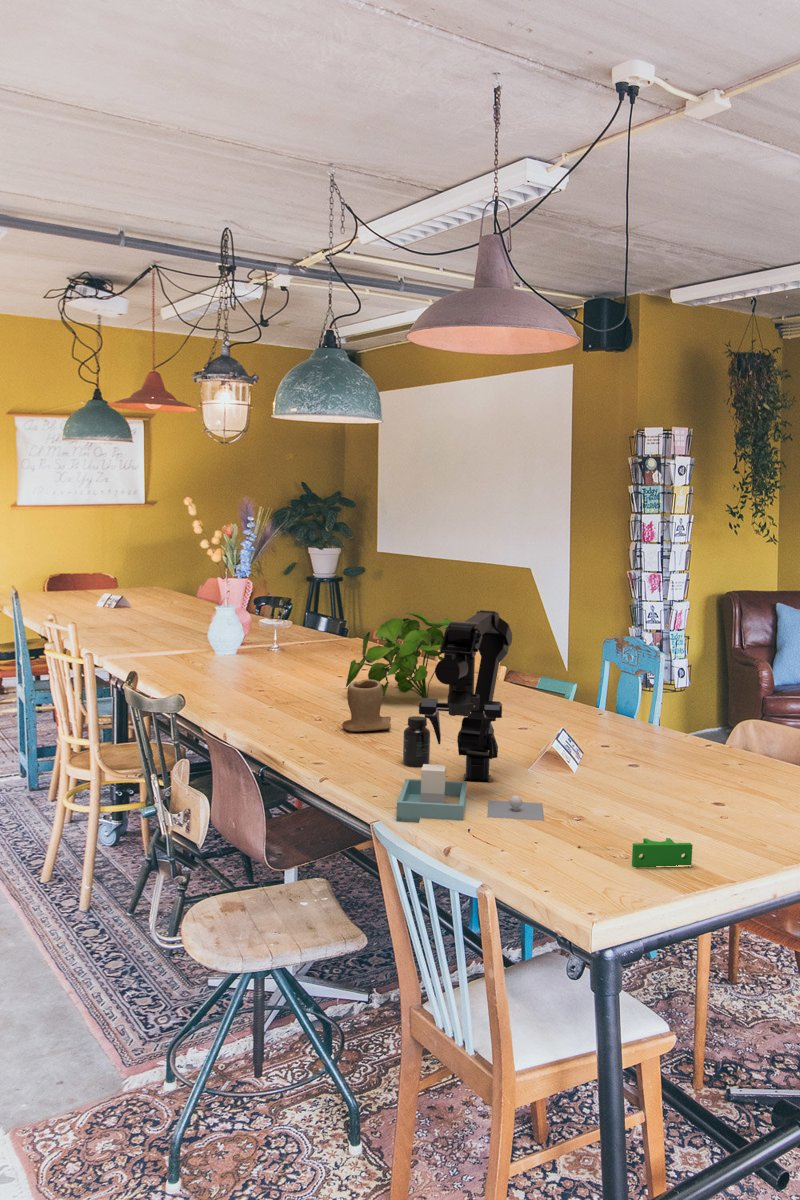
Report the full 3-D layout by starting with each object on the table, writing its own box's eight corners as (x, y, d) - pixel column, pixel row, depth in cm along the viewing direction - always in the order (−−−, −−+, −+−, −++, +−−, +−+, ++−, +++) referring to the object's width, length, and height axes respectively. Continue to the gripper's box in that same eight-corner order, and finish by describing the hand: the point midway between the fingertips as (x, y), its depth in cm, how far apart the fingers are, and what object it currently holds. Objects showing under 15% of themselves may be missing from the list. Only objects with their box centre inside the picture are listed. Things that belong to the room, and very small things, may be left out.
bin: (405, 795, 224) (405, 778, 224) (466, 799, 223) (466, 782, 223) (396, 820, 207) (396, 802, 206) (462, 824, 205) (463, 806, 205)
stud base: (488, 804, 219) (488, 786, 219) (542, 807, 218) (542, 789, 218) (487, 821, 208) (487, 802, 207) (544, 825, 206) (545, 805, 206)
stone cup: (347, 736, 280) (349, 684, 278) (339, 727, 291) (340, 677, 290) (399, 734, 284) (400, 683, 282) (388, 725, 295) (389, 676, 294)
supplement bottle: (399, 761, 254) (400, 715, 253) (423, 759, 256) (425, 714, 255) (408, 768, 248) (409, 721, 247) (433, 766, 250) (434, 720, 249)
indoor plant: (422, 698, 303) (384, 609, 307) (344, 735, 332) (311, 654, 336) (508, 665, 334) (472, 585, 338) (430, 702, 363) (399, 628, 367)
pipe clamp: (683, 861, 188) (685, 837, 188) (691, 868, 184) (692, 844, 184) (626, 861, 187) (628, 837, 186) (633, 868, 183) (634, 844, 183)
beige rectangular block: (420, 808, 212) (421, 770, 212) (422, 801, 217) (423, 764, 217) (443, 810, 212) (444, 771, 211) (444, 803, 217) (445, 765, 216)
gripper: (417, 682, 215) (415, 751, 217) (502, 685, 213) (500, 756, 215) (421, 673, 226) (419, 739, 228) (503, 677, 224) (500, 743, 226)
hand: (459, 744), depth 224 cm, fingers open, 9 cm apart
